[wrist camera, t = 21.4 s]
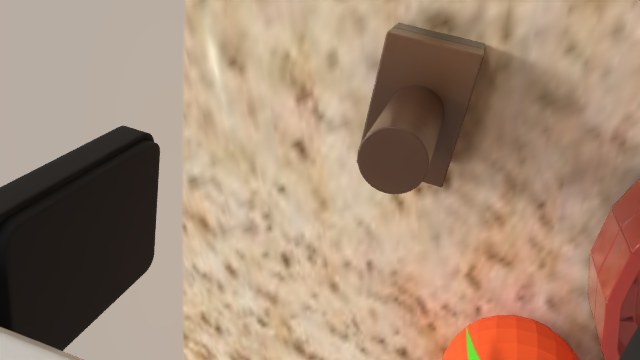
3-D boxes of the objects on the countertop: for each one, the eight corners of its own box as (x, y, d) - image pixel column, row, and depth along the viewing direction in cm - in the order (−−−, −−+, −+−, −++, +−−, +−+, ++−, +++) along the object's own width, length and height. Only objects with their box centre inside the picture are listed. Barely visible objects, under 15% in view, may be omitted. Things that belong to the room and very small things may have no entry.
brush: (398, 22, 26) (353, 58, 18) (485, 43, 25) (480, 90, 17) (369, 142, 28) (319, 220, 20) (447, 164, 27) (427, 254, 20)
